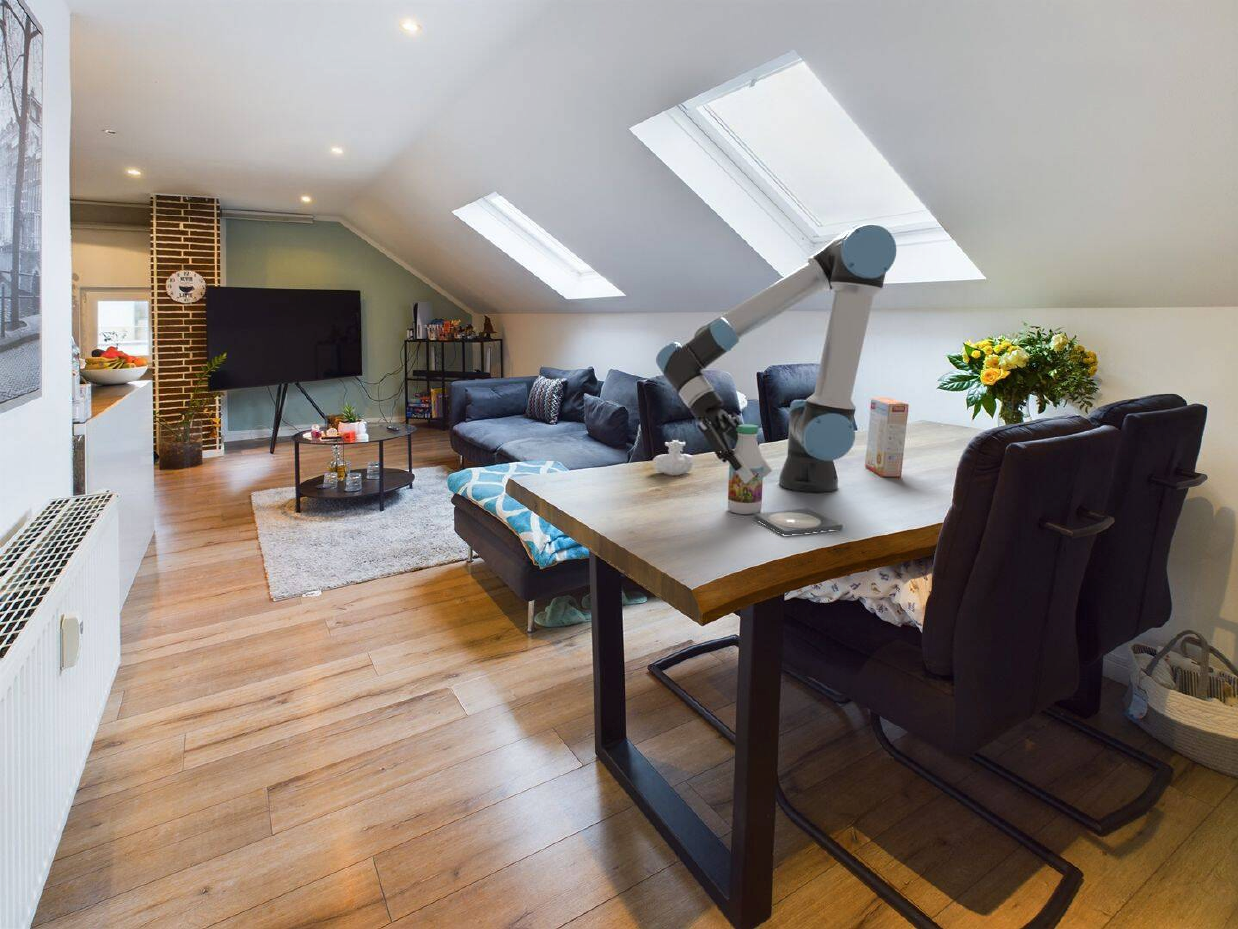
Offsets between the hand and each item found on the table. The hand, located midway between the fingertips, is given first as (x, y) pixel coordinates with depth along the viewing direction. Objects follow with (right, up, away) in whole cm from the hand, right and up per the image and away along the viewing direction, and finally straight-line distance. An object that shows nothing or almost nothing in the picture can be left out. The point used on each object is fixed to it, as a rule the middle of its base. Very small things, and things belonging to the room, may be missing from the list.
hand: (759, 476), depth 153 cm
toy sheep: (-16, 0, +40) cm, 43 cm away
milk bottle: (-3, -8, +4) cm, 9 cm away
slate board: (+7, -10, -6) cm, 14 cm away
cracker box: (+45, 0, +44) cm, 63 cm away
